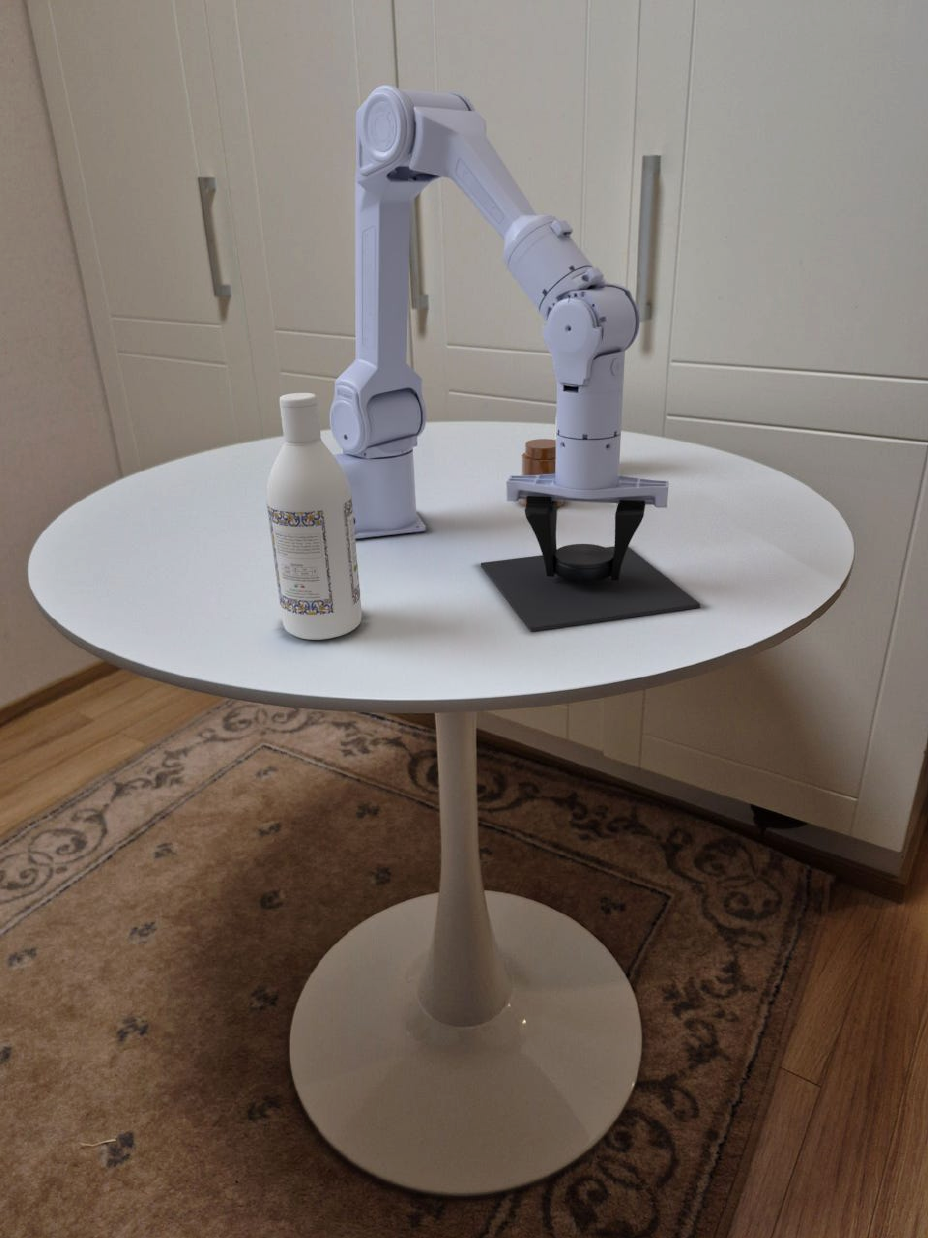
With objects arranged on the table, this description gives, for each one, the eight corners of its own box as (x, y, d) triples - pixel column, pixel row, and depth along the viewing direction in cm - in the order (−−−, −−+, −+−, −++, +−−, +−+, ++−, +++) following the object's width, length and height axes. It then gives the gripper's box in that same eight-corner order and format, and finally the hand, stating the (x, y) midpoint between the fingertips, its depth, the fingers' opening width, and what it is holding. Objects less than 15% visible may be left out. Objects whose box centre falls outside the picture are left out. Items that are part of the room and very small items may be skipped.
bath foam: (332, 602, 80) (310, 384, 72) (378, 623, 76) (359, 394, 67) (268, 625, 76) (236, 397, 68) (312, 650, 72) (284, 408, 63)
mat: (530, 631, 74) (530, 627, 73) (480, 566, 88) (480, 562, 87) (699, 607, 77) (700, 603, 77) (625, 548, 91) (625, 544, 91)
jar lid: (610, 584, 78) (611, 566, 78) (549, 580, 80) (549, 563, 79) (615, 561, 83) (616, 545, 83) (558, 558, 85) (558, 542, 84)
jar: (529, 511, 103) (530, 450, 100) (516, 498, 108) (515, 440, 105) (570, 506, 105) (571, 446, 101) (554, 494, 109) (555, 436, 106)
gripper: (673, 424, 78) (662, 563, 84) (515, 421, 81) (516, 555, 87) (671, 443, 72) (660, 592, 78) (501, 438, 75) (502, 582, 81)
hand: (583, 574), depth 82 cm, fingers closed on jar lid, 5 cm apart
